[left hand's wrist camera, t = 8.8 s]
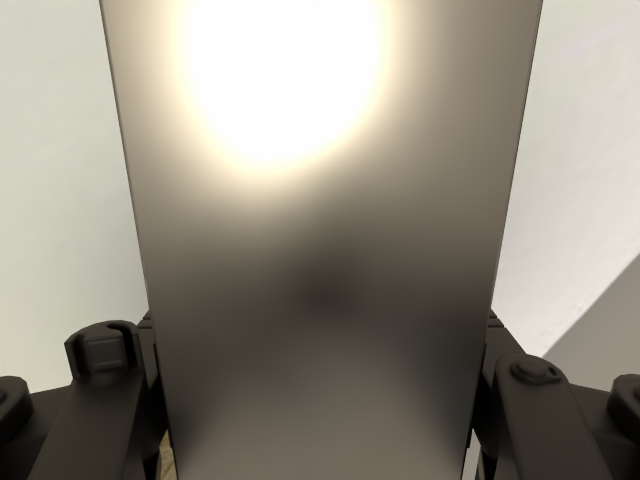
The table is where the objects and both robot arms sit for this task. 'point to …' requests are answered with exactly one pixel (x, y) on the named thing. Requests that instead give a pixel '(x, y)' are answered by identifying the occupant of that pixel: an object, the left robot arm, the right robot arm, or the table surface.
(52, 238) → the table surface
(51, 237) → the table surface
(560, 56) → the table surface
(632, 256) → the table surface
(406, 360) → the bar
